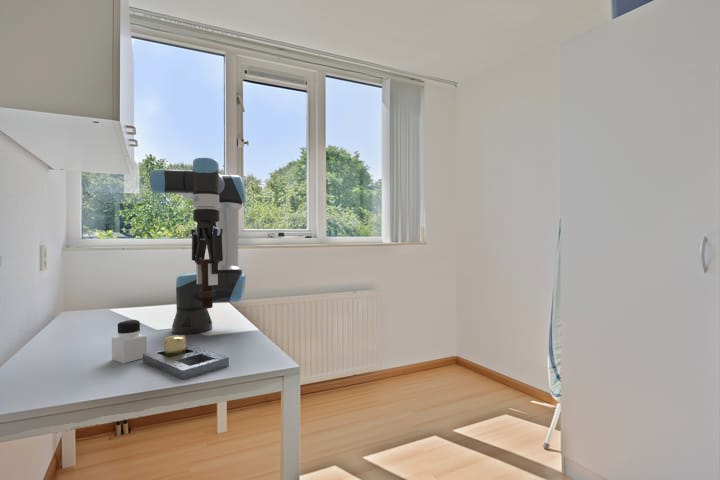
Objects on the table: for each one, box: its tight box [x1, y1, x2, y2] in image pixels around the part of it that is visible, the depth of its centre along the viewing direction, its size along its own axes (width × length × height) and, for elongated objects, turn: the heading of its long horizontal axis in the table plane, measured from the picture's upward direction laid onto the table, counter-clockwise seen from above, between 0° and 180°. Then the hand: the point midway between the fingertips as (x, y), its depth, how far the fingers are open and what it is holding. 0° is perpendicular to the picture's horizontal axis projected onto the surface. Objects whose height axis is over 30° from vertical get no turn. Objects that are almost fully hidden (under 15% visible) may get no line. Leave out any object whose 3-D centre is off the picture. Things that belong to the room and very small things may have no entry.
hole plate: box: [142, 334, 230, 381], centre depth 119 cm, size 24×14×7 cm, turn 52°
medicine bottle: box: [111, 319, 147, 364], centre depth 125 cm, size 7×7×12 cm
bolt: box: [197, 258, 216, 309], centre depth 122 cm, size 6×5×15 cm
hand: (207, 284), depth 122 cm, fingers closed on bolt, 6 cm apart
